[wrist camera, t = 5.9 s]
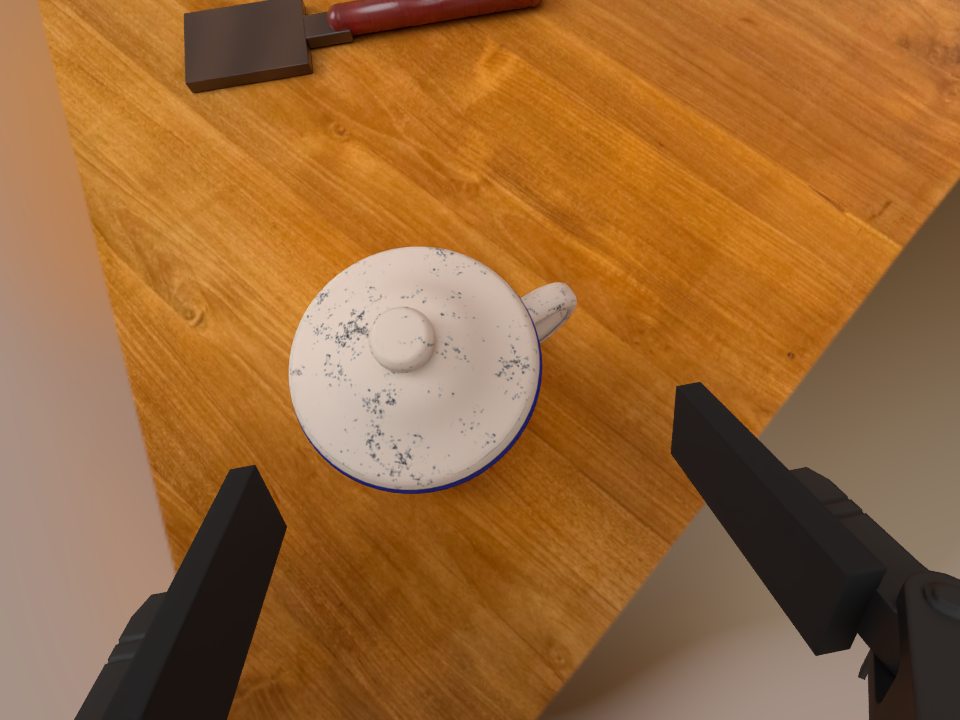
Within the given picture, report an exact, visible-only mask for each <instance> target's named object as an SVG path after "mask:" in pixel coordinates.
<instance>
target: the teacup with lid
mask: <svg viewBox="0 0 960 720" xmlns="http://www.w3.org/2000/svg"><path fill="white" fill-rule="evenodd" d="M576 305H577V298H576V296H575V294H574V293H573V291H572V290H571V289H570V287H569V286H568V285H566V284H565V283H560V282H559V283H551V284H548V285H545V286H542V287H540V288H537V289H535V290H533V291H532V292H530V293H528V294H526V295H524V296H523V297H521V298H520V297H519V296H518V295H517V293H516V292H515V291H514V290H513V289H512V288H511V287H510V286H509V284H508V283H507V282H506V281H505V280H503V279H502V278H501V277H500V276H499V275H498V274H497V273H495V272H494V271H493V270H491V269H490V268H489V267H487V266H485V265H484V264H482V263H480V262H479V261H477V260H475V259H472V258H470V257H468V256H466V255H463V254H460V253H457V252H454V251H450V250H446V249H440V248H434V247H405V248H397V249H392V250H388V251H384V252H381V253H377V254H375V255H372V256H369V257H367V258H365V259H363V260H361V261H358V262H356V263H355V264H353V265H351V266H350V267H348V268H346V269H345V270H344V271H342V272H341V273H340V274H338V275H337V276H336V277H335V278H333V279H332V280H331V281H330V282H329V283H328V284H327V285H326V286H325V287H324V288H323V289H322V290H321V291H320V292H319V293H318V295H317V296H316V297H315V298H314V300H313V301H312V303H311V304H310V306H309V307H308V309H307V310H306V312H305V314H304V316H303V317H302V319H301V321H300V324H299V326H298V328H297V331H296V334H295V337H294V340H293V343H292V348H291V353H290V361H289V386H290V393H291V398H292V403H293V406H294V410H295V413H296V416H297V418H298V421H299V423H300V425H301V428H302V430H303V431H304V433H305V435H306V437H307V438H308V440H309V441H310V443H311V444H312V445H313V447H314V448H315V449H316V451H317V452H318V453H319V454H320V455H321V456H322V457H323V458H324V459H325V460H326V461H327V462H328V463H329V464H330V465H331V466H333V467H334V468H335V469H337V470H338V471H339V472H341V473H342V474H344V475H345V476H347V477H349V478H351V479H353V480H354V481H356V482H359V483H361V484H363V485H366V486H369V487H372V488H375V489H378V490H382V491H387V492H393V493H403V494H419V493H429V492H435V491H440V490H444V489H448V488H451V487H454V486H457V485H459V484H462V483H464V482H466V481H469V480H471V479H472V478H474V477H476V476H478V475H480V474H481V473H483V472H484V471H486V470H487V469H488V468H490V467H491V466H493V465H494V464H495V463H496V462H497V461H499V460H500V459H501V458H502V457H503V456H504V455H505V454H506V453H507V452H508V451H509V450H510V449H511V448H512V446H513V445H514V444H515V442H516V441H517V440H518V439H519V437H520V436H521V434H522V432H523V431H524V429H525V428H526V426H527V424H528V422H529V420H530V418H531V416H532V413H533V411H534V408H535V406H536V403H537V399H538V395H539V391H540V385H541V377H542V355H541V348H540V344H541V343H542V342H543V341H545V340H546V339H547V338H549V337H550V336H551V335H552V334H553V333H555V332H556V331H557V330H558V329H559V328H560V327H561V326H562V325H563V324H564V323H565V322H566V321H567V320H568V319H569V317H570V316H571V315H572V313H573V312H574V310H575V308H576Z"/></svg>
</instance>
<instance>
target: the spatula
mask: <svg viewBox="0 0 960 720" xmlns="http://www.w3.org/2000/svg"><path fill="white" fill-rule="evenodd" d="M541 1H542V0H357V1H350V2H344V3H338V4H334V5H333V6H331V7H330V9H329V11H328V12H324V13H318V14H312V15H306V11H305V5H304V2H303V0H267V1H260V2H254V3H248V4H242V5H235V6H229V7H223V8H216V9H210V10H204V11H197V12H191V13H185V14H184V41H185V81H186V84H187V86H188V87H189V88H190V90H191V91H192V92H193V93H195V92H201V91H208V90H214V89H220V88H226V87H232V86H238V85H244V84H250V83H256V82H262V81H268V80H274V79H280V78H287V77H293V76H299V75H305V74H311V73H313V70H312V62H311V53H310V48H315V47H321V46H328V45H334V44H340V43H346V42H352V41H353V36H354V35H360V34H366V33H372V32H378V31H384V30H391V29H397V28H403V27H409V26H415V25H421V24H428V23H434V22H440V21H446V20H452V19H458V18H465V17H471V16H477V15H483V14H489V13H495V12H502V11H508V10H514V9H520V8H526V7H532V6H536V5H538V4H539V3H540V2H541Z"/></svg>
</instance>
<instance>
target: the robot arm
mask: <svg viewBox="0 0 960 720" xmlns="http://www.w3.org/2000/svg"><path fill="white" fill-rule="evenodd" d="M671 454H672V456H673V457H674V459H675V460H676V461H677V463H678V464H679V466H680V467H681V468H682V470H683V471H684V473H685V474H686V475H687V477H688V478H689V480H690V481H691V482H692V484H693V485H694V487H695V488H696V489H697V491H698V492H699V494H700V495H701V496H702V498H703V499H704V500H705V502H706V503H707V505H708V506H709V507H710V509H711V510H712V511H713V513H714V514H715V516H716V517H717V519H718V520H719V521H720V523H721V524H722V526H723V527H724V528H725V530H726V531H727V533H728V534H729V535H730V537H731V538H732V539H733V541H734V542H735V544H736V545H737V547H738V548H739V549H740V551H741V552H742V554H743V555H744V556H745V558H746V559H747V561H748V562H749V563H750V564H751V566H752V567H753V569H754V570H755V572H756V573H757V575H758V576H759V577H760V579H761V580H762V581H763V583H764V584H765V586H766V587H767V588H768V590H769V591H770V593H771V594H772V595H773V597H774V598H775V600H776V601H777V602H778V604H779V605H780V607H781V608H782V609H783V611H784V612H785V614H786V615H787V616H788V618H789V619H790V621H791V622H792V623H793V625H794V626H795V628H796V629H797V630H798V632H799V633H800V635H801V636H802V637H803V639H804V640H805V641H806V643H807V644H808V646H809V647H810V648H811V650H812V651H813V653H814V654H815V655H816V656H818V655H823V654H827V653H832V652H837V651H842V650H847V649H850V647H851V645H852V643H853V641H854V639H855V637H856V635H857V633H858V634H859V635H860V637H861V638H862V639H863V640H864V642H865V643H866V644H867V645H868V646H869V647H870V651H869V652H868V655H867V656H866V658H865V660H864V663H863V664H862V666H861V668H860V672H859V675H858V677H859V678H862V679H864V680H865V678H866V676H867V674H868V693H869V720H960V580H959V579H957V578H955V577H952V576H950V575H947V574H944V573H940V572H935V571H930V570H928V569H927V568H925V567H924V566H923V565H922V564H921V563H919V562H918V561H917V560H916V559H915V558H914V557H913V556H912V555H911V554H910V553H909V552H908V551H906V550H905V549H904V548H903V547H902V546H901V545H900V544H899V543H898V542H897V541H896V540H894V539H893V538H892V537H891V536H890V535H889V534H888V533H887V532H886V531H885V530H884V529H883V528H881V527H880V526H879V525H878V524H877V523H876V522H875V521H874V520H873V519H872V518H870V517H869V516H868V515H867V514H866V513H865V514H864V513H863V512H862V509H861V508H860V507H859V506H858V505H856V504H855V503H854V502H853V501H852V500H849V499H848V497H847V496H846V494H845V493H843V492H842V491H841V490H840V489H839V488H838V487H837V486H836V485H835V484H834V483H832V482H831V481H830V480H829V479H827V478H825V477H824V476H822V475H820V474H818V473H816V472H815V471H813V470H811V469H809V468H807V467H804V468H799V469H794V470H788V469H787V468H786V467H785V466H784V465H783V464H782V463H781V462H780V461H779V460H778V459H777V458H776V457H775V456H774V455H773V454H772V453H771V452H770V451H769V450H768V449H767V448H766V447H765V446H764V445H763V444H762V443H761V442H760V441H759V440H758V439H757V438H756V437H755V436H754V435H753V434H752V433H751V432H750V431H749V430H748V429H747V428H746V427H745V426H744V425H743V424H742V423H741V422H740V421H739V420H738V419H737V418H736V417H735V416H734V415H733V414H732V413H731V412H730V411H729V410H728V409H727V408H726V407H725V406H724V405H723V404H722V403H721V402H720V401H719V400H718V399H717V398H716V397H715V396H714V395H713V394H712V393H711V392H710V391H709V390H708V389H707V388H706V387H705V386H704V385H703V384H702V383H701V382H697V383H692V384H686V385H681V386H676V397H675V409H674V421H673V433H672V445H671ZM286 528H287V526H286V524H285V522H284V520H283V518H282V516H281V514H280V512H279V510H278V508H277V506H276V504H275V502H274V500H273V498H272V496H271V494H270V492H269V491H268V489H267V487H266V485H265V483H264V481H263V479H262V477H261V475H260V473H259V471H258V469H257V467H256V465H252V466H246V467H241V468H236V469H230V471H229V472H228V474H227V476H226V478H225V480H224V482H223V484H222V486H221V488H220V490H219V492H218V494H217V496H216V498H215V500H214V502H213V504H212V505H211V507H210V509H209V511H208V513H207V515H206V517H205V519H204V521H203V523H202V525H201V527H200V529H199V531H198V533H197V535H196V537H195V538H194V540H193V542H192V544H191V546H190V548H189V550H188V552H187V554H186V556H185V558H184V560H183V562H182V564H181V566H180V568H179V569H178V571H177V573H176V575H175V577H174V579H173V581H172V583H171V585H170V587H169V589H168V591H167V592H164V593H159V594H153V595H151V596H150V597H149V598H148V599H147V600H146V602H145V603H144V604H143V605H142V606H141V607H140V608H139V609H138V610H137V612H136V613H135V614H134V615H133V616H132V617H131V619H130V621H129V623H128V624H127V626H126V628H125V630H124V631H123V633H122V635H121V637H120V639H119V644H118V645H116V646H115V648H114V649H113V651H112V653H111V655H110V657H109V658H108V664H105V665H104V667H103V669H102V671H101V673H100V675H99V676H98V678H97V680H96V682H95V684H94V685H93V687H92V689H91V691H90V692H89V694H88V696H87V698H86V700H85V701H84V703H83V705H82V707H81V709H80V710H79V712H78V714H77V716H76V717H75V719H74V720H227V718H228V714H229V711H230V708H231V705H232V702H233V698H234V695H235V692H236V689H237V686H238V682H239V679H240V676H241V673H242V669H243V666H244V663H245V660H246V657H247V653H248V650H249V647H250V644H251V641H252V637H253V634H254V631H255V628H256V625H257V621H258V618H259V615H260V612H261V609H262V605H263V602H264V599H265V596H266V592H267V589H268V586H269V583H270V580H271V576H272V573H273V570H274V567H275V564H276V560H277V557H278V554H279V551H280V548H281V544H282V541H283V538H284V535H285V531H286Z"/></svg>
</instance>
